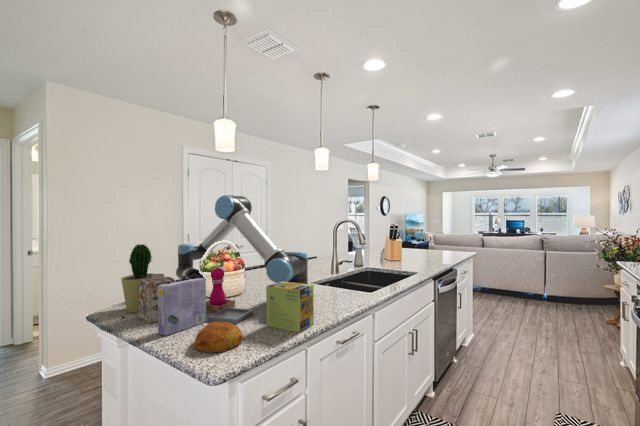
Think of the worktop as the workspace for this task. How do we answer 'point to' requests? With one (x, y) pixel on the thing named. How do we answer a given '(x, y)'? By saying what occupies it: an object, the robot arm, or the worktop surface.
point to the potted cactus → (136, 276)
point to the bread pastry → (218, 337)
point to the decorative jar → (151, 296)
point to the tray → (230, 315)
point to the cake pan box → (181, 305)
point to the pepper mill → (217, 287)
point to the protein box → (290, 306)
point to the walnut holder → (215, 309)
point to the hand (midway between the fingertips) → (209, 281)
